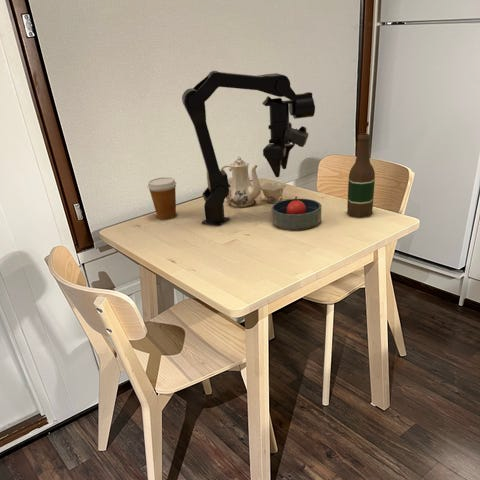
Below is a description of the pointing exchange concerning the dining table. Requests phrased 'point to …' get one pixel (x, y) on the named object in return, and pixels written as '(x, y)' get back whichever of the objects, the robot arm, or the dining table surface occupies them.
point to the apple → (296, 207)
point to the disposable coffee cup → (163, 196)
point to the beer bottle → (361, 181)
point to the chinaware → (249, 186)
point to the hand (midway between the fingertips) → (281, 172)
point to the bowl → (296, 215)
